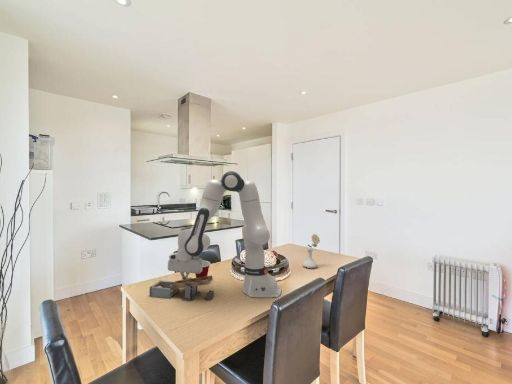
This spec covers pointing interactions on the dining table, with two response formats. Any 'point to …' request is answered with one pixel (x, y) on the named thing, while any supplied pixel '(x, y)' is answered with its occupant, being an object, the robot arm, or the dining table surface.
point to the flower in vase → (310, 262)
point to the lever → (192, 282)
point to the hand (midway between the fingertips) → (184, 279)
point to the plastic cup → (204, 269)
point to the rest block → (209, 295)
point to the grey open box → (163, 289)
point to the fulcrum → (190, 293)
